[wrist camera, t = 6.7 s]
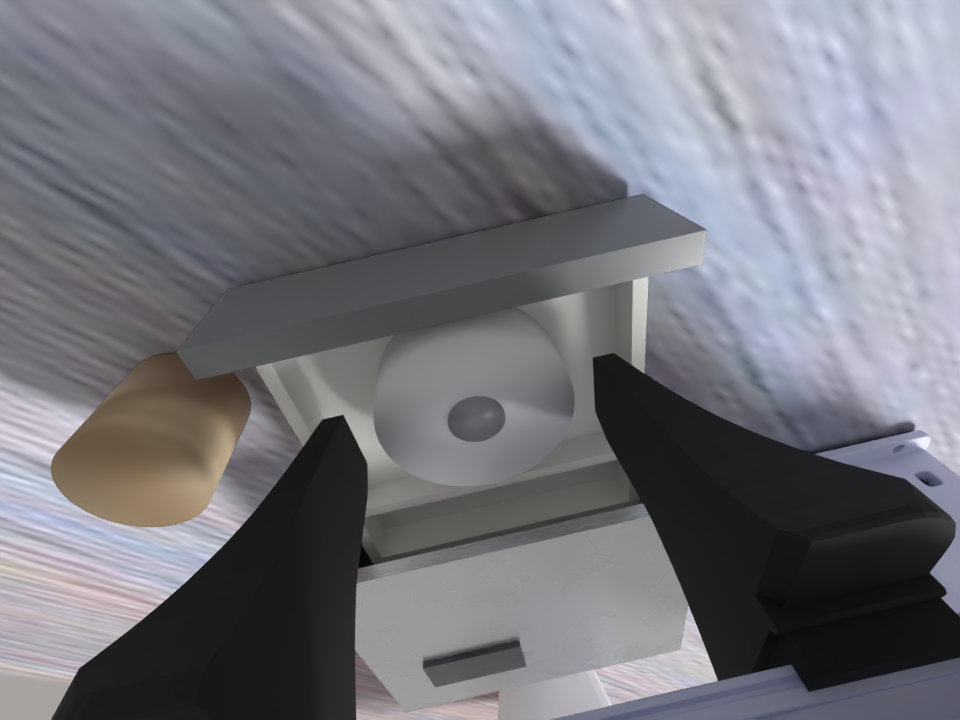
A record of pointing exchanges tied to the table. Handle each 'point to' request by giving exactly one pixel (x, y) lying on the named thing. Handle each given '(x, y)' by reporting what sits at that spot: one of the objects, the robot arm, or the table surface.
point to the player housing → (518, 608)
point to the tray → (446, 298)
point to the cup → (553, 698)
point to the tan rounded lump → (154, 445)
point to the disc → (472, 399)
